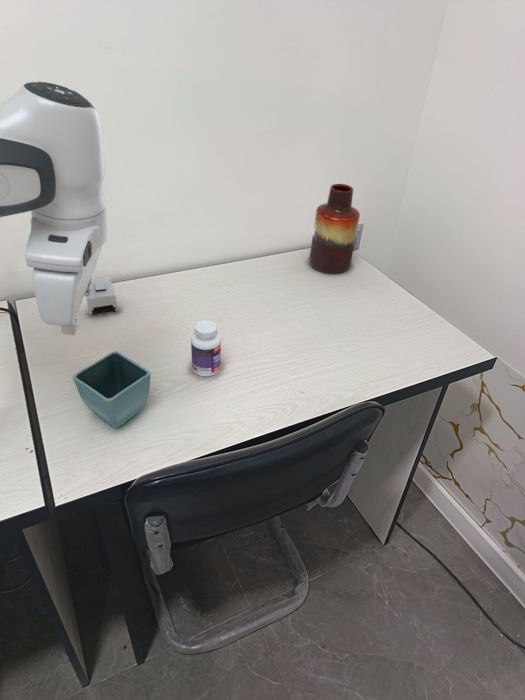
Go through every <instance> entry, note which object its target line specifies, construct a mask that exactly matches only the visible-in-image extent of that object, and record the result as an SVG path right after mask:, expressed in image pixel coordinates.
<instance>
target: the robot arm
mask: <svg viewBox="0 0 525 700" xmlns="http://www.w3.org/2000/svg"><path fill="white" fill-rule="evenodd" d="M104 178H105V151H104V141H103V133H102V127H101V121H100V116H99V114H98V110H97V109H96V108H95V106H94V105H93V104H92V103H91V102H90V101H89V100H88V99H87V98H86V97H85V96H83V95H82V94H80V93H79V92H78V91H76V90H72V89H70V88H68V87H66V86H63V85H59V84H56V83H51V82H47V81H46V82H45V81H31V82H26V83H24V84H23V85H22V86H21V88H20V89H19V90H18V91H17V92H16V93H15V94H13V95H11V96H10V97H8V98H7V99H6V100H4V101H2V102H1V103H0V218H4V217H9V216H14V215H18V214H23V213H27V212H30V213H31V214H30V215H31V218H30V234H29V237H28V241H27V245H26V247H25V253H24V258H25V263H26V266H27V267H28V268H33V269H32V284H33V285H32V286H33V290H34V296H35V301H36V306H37V310H38V314H39V317H40V319H41V321H42V322H43V323H44V324H46V325H49V326H57V327H58V326H59V327H60V328H61V333H62V334H64V335H67V336H74V335H76V332H77V330H78V319H77V314H78V312H79V310H80V306H81V304H82V303H83V302H82V301H83V299H84V297H86V296H89V294H90V292H91V290H92V287H91V280H92V279H93V273H94V270H95V268H96V266H97V263H98V260H99V258H100V255H101V253H102V246H103V245H105V243H106V242H107V239H108V233H107V232H108V227H107V203H106V198H105V195H104V192H103V181H104Z"/></svg>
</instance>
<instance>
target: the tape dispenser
mask: <svg viewBox="0 0 525 700" xmlns="http://www.w3.org/2000/svg"><path fill="white" fill-rule="evenodd" d="M91 287H92V290H91V292H90V294H89V296H85V299H86V302H87V307H88V311H89V315H93V316H94V315H101V314H106V313H113V312H116V311H118V310H119V308H118V307H119V306H118V299H117V297H116V293H115V288H114V285H113V284H112V281H111V278H110V277H109V276H108V277H99V278H92V280H91Z"/></svg>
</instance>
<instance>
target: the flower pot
mask: <svg viewBox="0 0 525 700" xmlns="http://www.w3.org/2000/svg"><path fill="white" fill-rule="evenodd" d="M151 374H152V372H151V371H150V370H149V369H147V368H146V367H143V366H142V365H140V364H139V363H137V362H135V361H134V360H132V359H130V358H129V357H127V356H126V355H124V354H122V353H121V352H119V351H116V350H113V351H111V352H110V353H108V354H106V355H104V356H103V357H101V358H100V359H98V360H97V361H95V362H93V363H92V364H90V365H88V366H87V367H85V368H83V369H81V370H79V371H78V372H76V373H75V374H73V375H72V380H73V382H74V386H75V388H76V390H77V392H78V395H79V397H80V399H81V400H82V402H83V404H85V406H86V407H87V408H88V409H89V410H90V411H91V412H92V413H93V414H95V416H98V418H100V419H102V420H103V421H105V422H106V423H107V424H108V425H110V426H111V427H113V428H115V429H118V428H120V427H122V426H123V425H124V424H125V423H126V422H128V421H129V420H131V419H132V418H133V417H134V416H136V415H138V414H139V413H140V411H142V409H143V408H144V406H145V404H146V403H147V401H148V399H149V396H150V388H151V387H150V386H151Z"/></svg>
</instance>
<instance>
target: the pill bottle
mask: <svg viewBox="0 0 525 700" xmlns="http://www.w3.org/2000/svg"><path fill="white" fill-rule="evenodd" d="M221 340H222V339H221V336H220V334H219V333H218V326H217V324H216V323H215V322H214V321H212V320H207V319H205V320H204V319H203V320H199V321H198V322H196V323H195V325H194V333H193V334H192V335H191V338H190V351H191V369H192V371H193V372H194V373H195V374H196V375H197V376H201V377H211V376H214V375H217V374H218V373H219V372H220V369H221V356H222V355H221V353H222V352H221V351H222V349H221V347H222V341H221Z"/></svg>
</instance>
